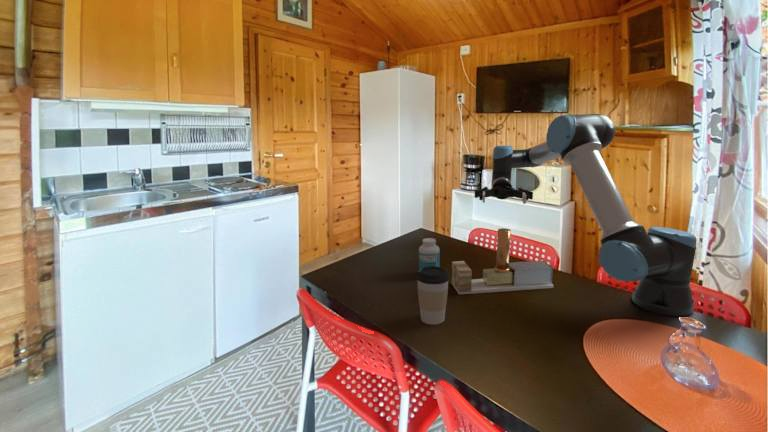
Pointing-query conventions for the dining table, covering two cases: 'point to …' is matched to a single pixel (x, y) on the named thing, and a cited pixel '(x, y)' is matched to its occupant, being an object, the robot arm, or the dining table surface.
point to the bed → (499, 287)
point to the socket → (461, 276)
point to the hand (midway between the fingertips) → (504, 199)
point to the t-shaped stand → (500, 262)
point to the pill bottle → (429, 254)
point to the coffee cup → (432, 294)
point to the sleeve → (531, 273)
